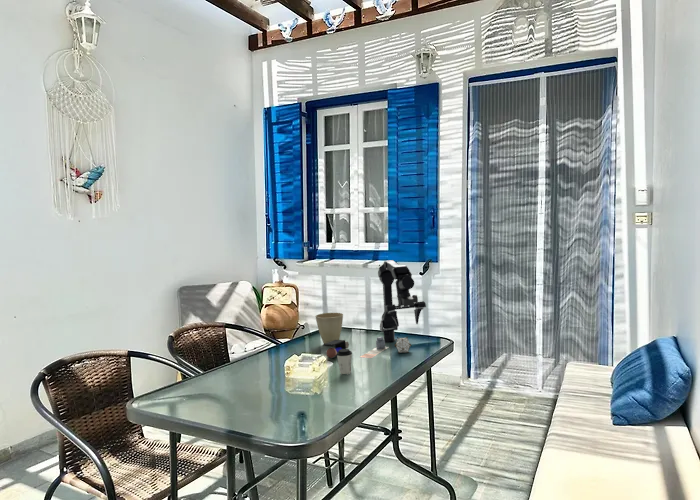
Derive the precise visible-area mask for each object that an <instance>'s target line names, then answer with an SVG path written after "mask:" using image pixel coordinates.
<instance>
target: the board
mask: <svg viewBox="0 0 700 500" xmlns="http://www.w3.org/2000/svg"><path fill="white" fill-rule="evenodd" d="M388 348H389V346H385V349H376V347H374V348H372V349H371V350H369V351H367V352H366V353H364V354H362V355H360V356H359V358H365V359H372V358H374V357H375V356H377V355H379V354H380V353H382V352H383V351H385V350H387V349H388Z"/></svg>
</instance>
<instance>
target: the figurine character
mask: <svg viewBox="0 0 700 500" xmlns="http://www.w3.org/2000/svg"><path fill="white" fill-rule="evenodd" d="M322 346H323V347H324V346H327V347H328V346H331V347H329V348H328V349H327V350H326V352H325V353H326V356H327V357H328V358H330V359H334V358H336V357H337V355H336V354H337V352H339V350H340V349H349V347H350V343H349V342H348V341H346V339H339V340H333V341H331V342H328V343H325V344H324V343H323V345H322ZM332 346H334V347H332Z"/></svg>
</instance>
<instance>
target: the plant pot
mask: <svg viewBox="0 0 700 500" xmlns="http://www.w3.org/2000/svg"><path fill="white" fill-rule="evenodd" d="M315 320H316V326H317V329H318V332H319V336H320V338H321V340H322V342H323V344H325V343H328V342H331V341H333V340H340V336H341V334H342V333H341V332H342V328H343V320H344V313H343V312H342V313H341V312H325V313H324V312H323V313H319V314H316V315H315Z"/></svg>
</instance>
